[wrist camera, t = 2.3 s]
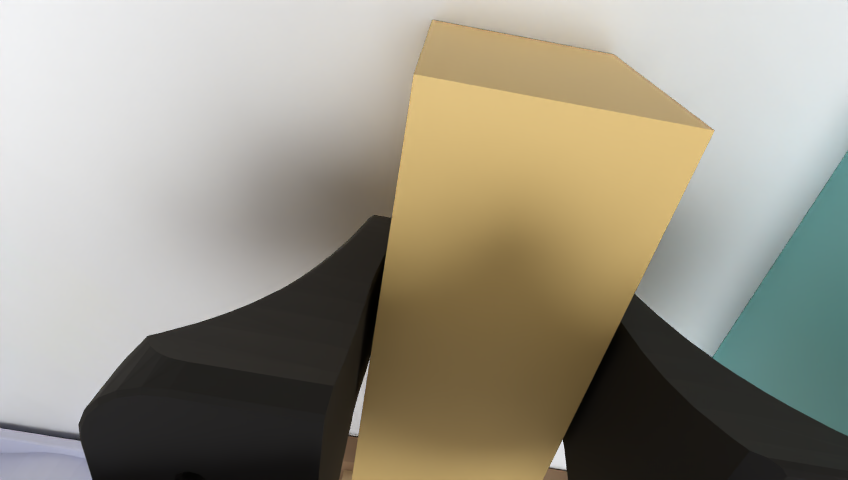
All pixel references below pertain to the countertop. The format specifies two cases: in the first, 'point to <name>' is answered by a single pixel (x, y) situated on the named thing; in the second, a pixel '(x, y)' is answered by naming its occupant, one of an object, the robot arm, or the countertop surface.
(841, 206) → the teal plug block
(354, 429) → the countertop surface
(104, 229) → the countertop surface
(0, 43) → the countertop surface
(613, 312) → the ochre plug block
